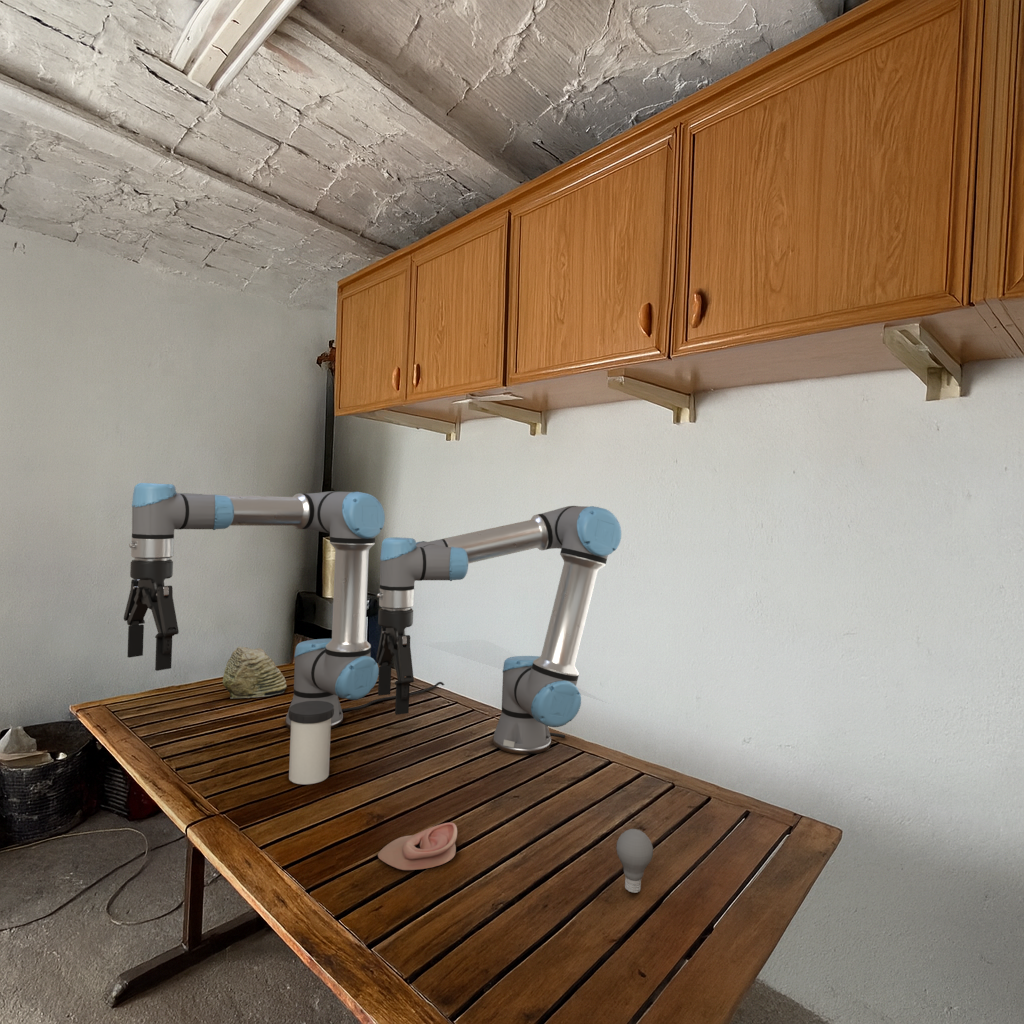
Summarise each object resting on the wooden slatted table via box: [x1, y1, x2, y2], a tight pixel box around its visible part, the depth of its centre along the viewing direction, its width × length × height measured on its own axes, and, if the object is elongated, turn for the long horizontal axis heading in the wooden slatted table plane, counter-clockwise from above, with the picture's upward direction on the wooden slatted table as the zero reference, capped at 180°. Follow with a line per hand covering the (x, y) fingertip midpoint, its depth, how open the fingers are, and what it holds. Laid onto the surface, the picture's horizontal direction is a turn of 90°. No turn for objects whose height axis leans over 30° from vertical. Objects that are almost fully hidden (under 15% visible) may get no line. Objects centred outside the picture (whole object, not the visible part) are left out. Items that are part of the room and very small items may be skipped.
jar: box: [288, 718, 332, 785], centre depth 143 cm, size 9×9×15 cm
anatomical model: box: [377, 822, 458, 871], centre depth 114 cm, size 13×4×12 cm
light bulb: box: [615, 828, 654, 894], centre depth 106 cm, size 6×6×10 cm
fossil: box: [222, 646, 288, 699], centre depth 198 cm, size 9×18×15 cm, turn 132°
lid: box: [288, 701, 334, 723], centre depth 143 cm, size 10×10×2 cm
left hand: (148, 662), depth 129 cm, fingers open, 13 cm apart
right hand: (392, 703), depth 140 cm, fingers open, 13 cm apart
